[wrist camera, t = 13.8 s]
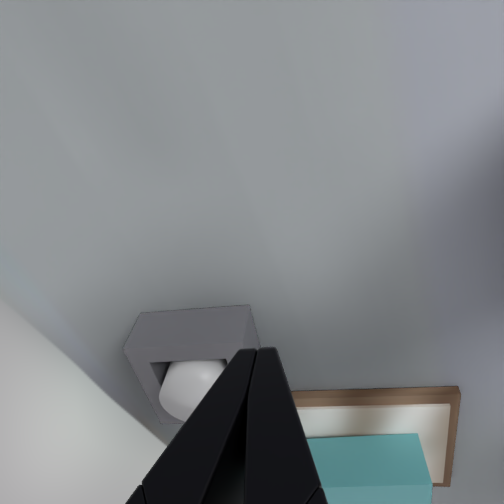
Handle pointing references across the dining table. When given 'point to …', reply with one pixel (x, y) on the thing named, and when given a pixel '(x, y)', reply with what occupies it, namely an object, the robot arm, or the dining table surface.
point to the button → (188, 385)
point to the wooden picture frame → (388, 419)
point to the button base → (185, 343)
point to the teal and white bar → (372, 469)
